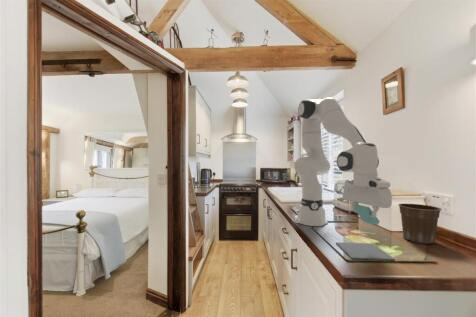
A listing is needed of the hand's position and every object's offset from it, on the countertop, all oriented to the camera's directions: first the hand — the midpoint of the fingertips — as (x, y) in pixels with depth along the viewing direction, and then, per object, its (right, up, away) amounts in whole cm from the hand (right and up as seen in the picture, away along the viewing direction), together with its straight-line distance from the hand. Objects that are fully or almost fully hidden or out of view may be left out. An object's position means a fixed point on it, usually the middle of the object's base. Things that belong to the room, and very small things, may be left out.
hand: (364, 214), depth 97 cm
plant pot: (+34, -16, +15) cm, 40 cm away
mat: (-1, -15, 0) cm, 15 cm away
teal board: (+4, -3, +2) cm, 5 cm away
